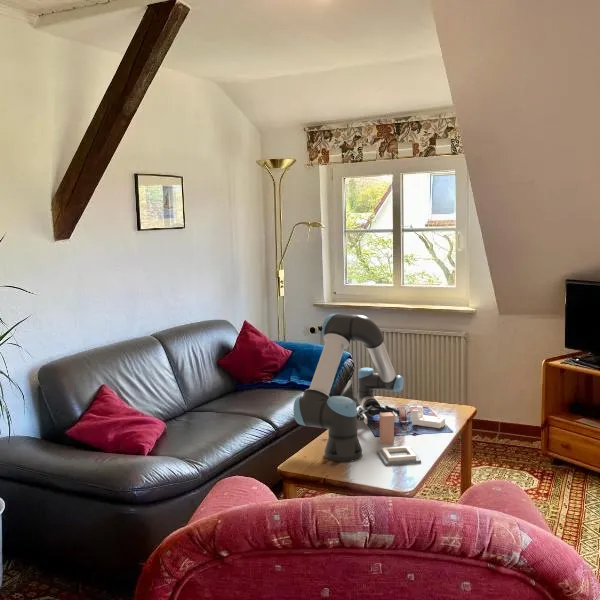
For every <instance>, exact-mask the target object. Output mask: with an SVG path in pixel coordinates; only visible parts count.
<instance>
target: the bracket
mask: <svg viewBox="0 0 600 600" xmlns="http://www.w3.org/2000/svg"><path fill="white" fill-rule="evenodd" d="M411 421H412V422H411V423H412V425H415V426H416V425H417V426H421V427H429V428H435V429H441V428H444V425H445V426H446V418H445V417H441V416H440V417H439V416H431V415H425V414H424V406H420V405H417V406H416V409H412V410H411Z"/></svg>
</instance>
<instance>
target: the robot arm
mask: <svg viewBox="0 0 600 600" xmlns="http://www.w3.org/2000/svg"><path fill="white" fill-rule="evenodd" d="M321 328H322V329H321V334H322V337H323V341H324V342H325V343H324V346H323V349H322V352H321V354H320V357H319V361H318V362H317V366H316V367H315V368H316V369H315V371H314V374H313V377H312V380H311V383H310V385H309V388H306V389H305V390H304V392H303V395H299V396H297V397H296V398H295V400H294V403H293V407H292V408H293V416H294V420H295V421H296V423H297V424H298V425H301V426H305V427H312V428H319V429H327V430H328V438H327V440H326V445H325V447H324V457H325V458H326V459H327V460H329V461H332V462H336V461H338V462H337V463H349V462H355V461H357V460H359V459H361V458H362V457H363V448H362V446H361V443H360V440H359V437H358V419H359V421H361V422H362V421H363V422H364V424H365V425H368V417H375V416H377V415H379V413H386V412H391V413H392V414H393V415H394V422H396V423H398V422H399V419H398V418H399V417H400V416H401V415H400V409H399V410H398V409H397V408H393V407H391V406H389V405H385V406H384V407H383V406H381V405H380V402H378V401H377V399H376V398H375V390H381V391H390V392H401V391H402V390H403V388H404V385H405V384H404V383H405V381H404V377H403V376H402V375H399V374H396V371H395V369H394V367H393V364H392V362H391V358H390V355H389V353H388V350H387V349H386V346H385V343H384V341H385V337H384V334H383V332H382V330H381V328H380V327H379V326H378V324H376V322H375V321H373V320H372V319H371V318H369V317H367V315H366V316H365V315H363V314H362V315H361V314H341V313H331V314H329V315H327V316H326V317H325V318H324V319H323V322H322V326H321ZM351 342H359V343H362V345H363V346H364V347H365V348H366V349H367V351H368V353H369V356H370V358H371V359H372V362H373V364H374V367H375V369H376V371H377V373H375V369H374V368H371V367H362V368H359V369H358V371H357V372H358V374H357V379H358V381H357V383H358V384H357V387H358V393H357V395H356V401H357V403H358V405H359V406H360V407H358V409H357V403H356V402H355V400H354V399H352V398H350V397H347V396H343V395H332V396H330V392H331V389H332V387H333V383H334V381H335V378H336V374H337V373H338V370H339V369H338V368H339V366H340V363H341V360H342V356H343V353H344V351H345V349H348V348H349V347H350V343H351Z"/></svg>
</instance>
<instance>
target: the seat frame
mask: <svg viewBox="0 0 600 600" xmlns="http://www.w3.org/2000/svg"><path fill="white" fill-rule="evenodd" d="M376 453H377V455H378V456H379V458H380V459H381V461H382V462H383V464H384V465H385V466H388V465H389V466H399V465H398V464H401V465H410V464H409V463H414V464H422V459H420V457H419V456H418V454H416V452H415V451H414V450H413V449H412V447H410V446H409V445H403V446H402V445H401V446H389V447H388V446H387V447H381V449H377V451H376Z"/></svg>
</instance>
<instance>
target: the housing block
mask: <svg viewBox="0 0 600 600" xmlns="http://www.w3.org/2000/svg"><path fill="white" fill-rule="evenodd" d="M378 415H379V441H380V443H382V445H387V444H395V420H394V415H393V414H392V413H391V412H386V413H379V414H378Z"/></svg>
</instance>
